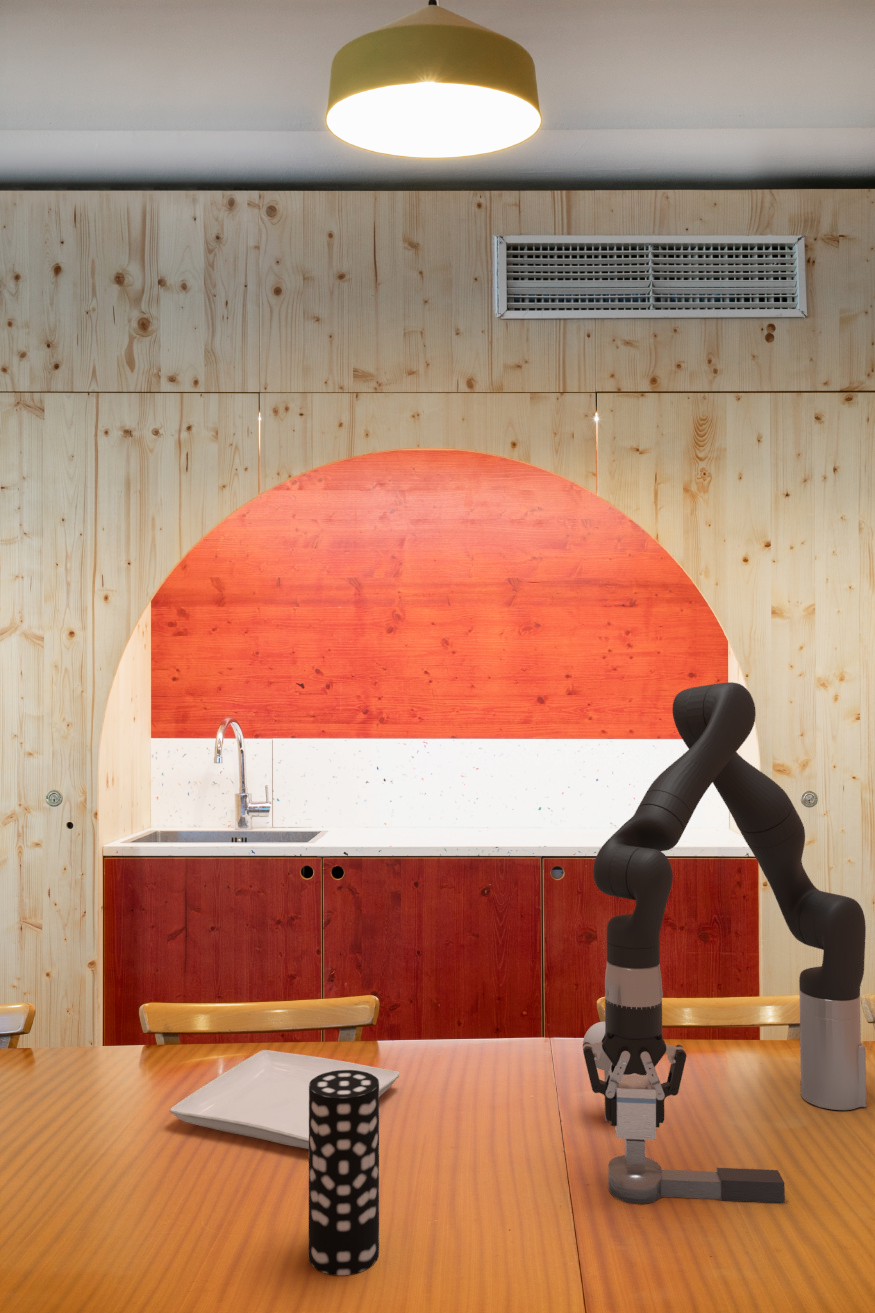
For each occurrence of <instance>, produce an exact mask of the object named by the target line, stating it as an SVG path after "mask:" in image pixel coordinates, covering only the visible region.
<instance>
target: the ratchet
mask: <svg viewBox="0 0 875 1313" xmlns="http://www.w3.org/2000/svg"><path fill="white" fill-rule="evenodd" d="M607 1166H608V1169H607V1170H608V1173H607V1175H608V1179H607V1180H608V1191H609V1194H611V1195H612V1196H613V1197H614V1198H615V1199H617V1200H619V1201H621V1202H623V1203H624V1202H625V1203H628V1204H635V1205H645V1204H652V1203H655V1202H656V1201H659V1199H661V1198H663V1197H664V1198H685V1199H708V1200H721V1201H725V1202H726V1201H728V1202H747V1203H751V1202H752V1203H768V1204H769V1203H772V1204H786V1198H785V1197H786V1196H785V1194H786V1192H785V1186H786V1184H785V1181H784V1179H783V1177H782V1176H781V1173H780V1172H779V1170H778V1169H759V1168H738V1167H737V1168H735V1167H716V1171H707V1170H705V1171H704V1170H685V1169H683V1170H682V1169H680V1170H679V1169H678V1170H677V1169H662V1167H661V1165H660V1164H659V1163H658V1162H657V1161H656V1160H653V1159H652V1158H649V1157H647V1156H646V1140H641V1139H624V1155H618V1156H615V1157H613V1158H612V1159H610V1161H609V1162H608V1165H607Z"/></svg>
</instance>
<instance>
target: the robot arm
mask: <svg viewBox="0 0 875 1313" xmlns="http://www.w3.org/2000/svg"><path fill="white" fill-rule="evenodd" d="M672 717H673V722H674V725H675V727H676V730H677V732H678V734H679V737H680V738H681V739H682V741H683V743H684V744H685V746H686V747H687V748H688V750H687V751H685V753H683V754H682V755H681V756H679V757H678V759H676V760H675V761H674V762H673V763H671V764H670V765H669V766H668V767H666V769H665V770H663V771H662V772H661V773H660V774H659V775H658V776H657V777H656V778H655V779H654V781H653V782H652V783H651V785H650V786H649V787H648V789H647V790H646V792H645V794H644V796H643V797H642V800H641V802H640V803H639V804H638V806H637V808H636V810H635V812H634V814H633V815H632V816H631V817H630V819H628V820H627V821H626V822H625V823H624V824H622V825H621V827H620V828H618V829H617V831H616V832H614V833H613V834H612V835H611V836H610V837H609V838H608V839H607V840H606V841H605V843H603V845H602V846H601V847H600V848H599V851H598V852H597V855H596V856H595V859H594V862H593V868H592V876H593V881H594V883H595V885H596V887H597V889H598V890H599V891H600V892H602V893H603V894H604V895H607V896H610V897H615V898H623V899H628V900H631V901H632V900H633V901H635V906H634V909H633V912H632V913H629V914H620V915H619V914H618V915H614V916H613V917H611V918H610V919H609V920H608V922H607V926H606V967H605V968H606V969H605V975H604V976H605V977H604V1011H605V1012H604V1013H605V1014H604V1015H605V1016H604V1017H605V1019H604V1021H605V1035H604V1037H603V1039H602V1042H599V1043H594V1044H590V1043H589V1042H585V1043H584V1044H583V1043H582V1052H583V1057H584V1061H585V1065H586V1069H587V1074H588V1078H589V1082H590V1086H591V1089H592V1092H593V1093H594V1094H601V1095H602V1096H604V1117H605V1116H606V1119H607V1121H608V1122H610V1126H611V1127H615V1126H616V1096H615V1093H616V1084H619V1083H620V1082H621V1079H622V1076H623V1075H630V1074H638V1075H648V1078H649V1080H650V1083H651V1086H655V1089H656V1129H657V1128H660V1127H661V1126H660V1124H663V1123H664V1121H665V1101H666V1100H665V1099H666V1098H667V1097H669V1096H678V1094H679V1091H680V1086H681V1082H682V1077H683V1073H684V1069H685V1064H686V1061H687V1053H686V1051H685V1048H684V1047H683V1045H681V1044H677V1045H675V1046H674V1045H671V1044H667V1043H666V1041H665V1039H664V1038H663V997H664V991H663V983H662V982H663V980H662V974H661V972H662V971H661V964H660V963H661V961H660V960H661V959H660V957H661V956H660V955H661V954H660V947H661V946H660V943H661V942H660V941H661V940H660V934H661V929H662V928H661V927H662V925H663V920H664V916H665V912H666V911H665V910H666V907H667V904H668V900H669V896H670V893H671V891H672V885H673V879H674V875H673V874H674V873H673V868H672V865H671V863H670V860H669V858H668V857H667V855H666V854H665V853H664V852H665V851H666V852H667V851H669V850H671V849H673V848H674V847H675V846H677V844H678V843H679V841H680V839H681V837H682V836H683V834H684V831H685V830H686V827H687V826H688V824H689V823H690V821H691V818H692V816H693V814H694V813H695V810H696V808H697V807H698V804H699V803H700V801H701V800H702V798H703V797H704V795H705V793H706V792H707V791H708V789H709V787H710V786H711V785H712V784H713V785H714V787H715V790H716V791H717V792H718V795H719V796H720V797H721V799H722V802H723V803H724V804H725V806H726V807H727V809H728V811H729V813H730V815H731V817H732V818H733V821H734V822H735V824H736V827H737V829H738V830H739V832H740V834H741V835H742V837H743V839H744V841H745V843H746V844H747V845H748V848H749V849H750V851H751V852H752V854H753V856H754V858H755V859H756V861H757V863H758V865H759V867H760V869H761V871H762V872H763V874H764V876H765V878H766V880H767V881H768V884H769V886H770V889H771V890H772V892H773V895H774V898H775V899H776V901H777V904H778V907H779V909H780V911H781V914H782V916H783V920H784V921H785V923H786V926H787V928H788V930H789V931H790V933H791V934H792V935H793V938H795V939H796V940H797V941H798V942H800V943H802V944H804V945H806V946H809V947H812V948H816V949H819V950H822V951H823V954H822V964H821V966H815V967H814V966H813V967H809V968H805V969H803V970H802V971H801V972H800V973H799V977H798V978H799V980H798V981H799V982H798V984H799V985H798V986H799V989H798V990H799V1040H800V1041H799V1043H800V1044H799V1047H800V1050H799V1051H800V1053H799V1055H800V1058H799V1059H800V1081H799V1082H800V1095H801V1098H803V1100H804V1101H806V1102H807V1103H809V1104H811V1105H814V1106H816V1107H819V1108H823V1109H827V1110H828V1109H829V1110H834V1111H849V1110H855V1109H858V1108H866V1107H867V1077H866V1076H867V1075H866V1074H867V1070H866V1065H867V1063H866V1056H867V1055H866V1046H865V1045H864V1044H863V1042H862V1037H861V1036H862V1033H861V1030H862V1029H861V1026H862V1024H861V1023H862V1022H861V985H862V982H863V980H864V979H863V978H864V975H865V956H866V952H865V951H866V933H867V932H866V931H867V930H866V928H867V925H866V919H865V914H864V911H863V908H862V906H861V905H860V903H859V902H858V901H857V900H856V899H855V898H852V897H848V896H846V895H845V896H844V895H841V894H837V893H836V894H835V893H831V892H827V891H822V890H820V889H819V888H817V887H816V885H814V883H813V881H812V880H811V879H810V878H809V876H808V874H807V872H806V870H805V867H804V865H803V863H802V862H803V861H802V859H803V854H804V849H805V843H806V832H805V826H804V824H803V821H802V819H801V817H800V814H798V811H797V810H796V807H795V806H794V804H793V802H792V800H791V799H790V797H789V795H788V793H787V792H786V791H785V789H783V788H782V787H781V786H780V785H779V784H778V783H777V782H775V781H774V780H773V779H771V777H769V776H767V775H766V774H765V773H763V771H761V770H759V769H758V768H756V767H755V766H754V765H752V764H750V763H749V762H748V761H746V760H745V759H744V758H743V757H742V756H741V755H740V754H739V753H738V752H737V751H738V750H739V749H740V747H741V746H742V745H743V744H744V742H746V740H747V739H748V737H749V735H751V732H752V731H753V729H754V728H753V727H754V726H755V722H756V705H755V702H754V699H753V696H752V694H751V692H750V691H749V689H747V688H746V686H744V685H742V684H741V683H738V682H733V681H732V682H731V681H730V682H719V683H712V684H705V685H699V686H694V687H690V688H686V689H683V690H681V691H680V692H678V693H677V694H676V696H675V697H674V699H673V702H672ZM602 1051H604V1052H605V1054H606V1055H607V1057H608V1058H609V1059H610V1061H611V1062H612V1063H611V1066H610V1069H609V1074H608V1076H607V1079H606V1082H605V1080H602V1079H600V1077H599V1076H600V1075H599V1072H598V1068H597V1067H596V1063H595V1062H596V1061H598V1060H599V1059H600V1053H601V1052H602ZM665 1054H666V1055H667V1059H668V1062H669V1063H670V1067H669V1071H668V1075H667V1079H666V1082H663V1083H661V1080H660V1078H659V1076H658V1073H657V1070H656V1066H657V1065H658V1063H659V1062H660V1061H661V1060H662V1058H663V1057H664V1056H665ZM607 1121H606V1122H607Z"/></svg>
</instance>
